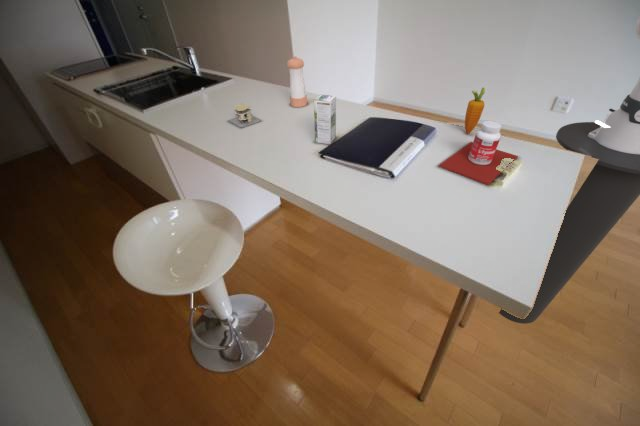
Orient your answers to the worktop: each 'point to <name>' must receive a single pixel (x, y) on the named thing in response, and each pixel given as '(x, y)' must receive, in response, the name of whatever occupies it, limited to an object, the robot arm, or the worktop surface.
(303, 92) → the pepper shaker
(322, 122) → the syrup box
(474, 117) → the carrot
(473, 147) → the pill bottle
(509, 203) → the worktop surface
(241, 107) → the stacked layers on plate
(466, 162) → the red pad
